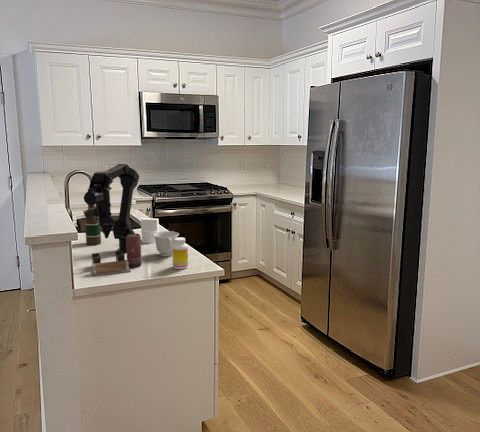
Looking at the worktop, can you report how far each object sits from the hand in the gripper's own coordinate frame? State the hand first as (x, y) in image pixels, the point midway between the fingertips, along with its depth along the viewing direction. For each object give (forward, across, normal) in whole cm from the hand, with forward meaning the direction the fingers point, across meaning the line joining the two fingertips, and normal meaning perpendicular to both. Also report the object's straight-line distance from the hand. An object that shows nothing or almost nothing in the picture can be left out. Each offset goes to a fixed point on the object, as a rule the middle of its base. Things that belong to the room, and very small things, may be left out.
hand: (105, 235), depth 197 cm
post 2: (+12, +7, +5) cm, 15 cm away
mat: (+12, +15, 0) cm, 19 cm away
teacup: (+12, +1, +28) cm, 30 cm away
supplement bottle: (+12, +20, +28) cm, 37 cm away
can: (+12, +10, +10) cm, 19 cm away
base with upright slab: (+12, -27, +26) cm, 39 cm away
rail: (+11, +15, 0) cm, 19 cm away
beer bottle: (+12, -33, -2) cm, 35 cm away
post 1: (+12, +7, -5) cm, 15 cm away
